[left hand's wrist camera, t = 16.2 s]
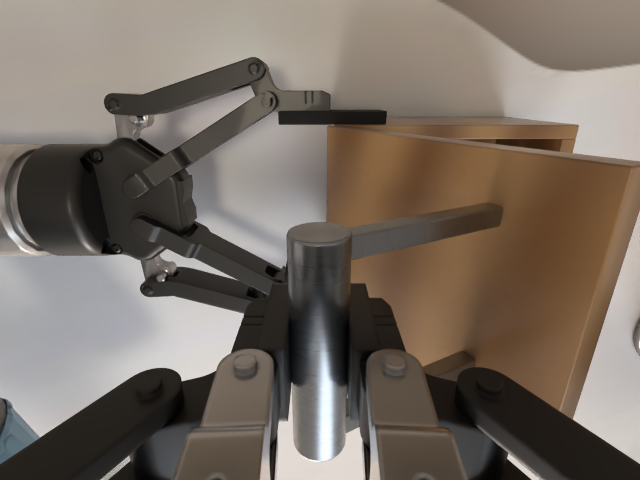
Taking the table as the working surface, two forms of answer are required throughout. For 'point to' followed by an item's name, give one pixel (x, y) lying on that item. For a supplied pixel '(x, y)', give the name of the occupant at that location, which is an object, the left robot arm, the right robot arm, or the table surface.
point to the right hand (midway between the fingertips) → (378, 199)
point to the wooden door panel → (456, 265)
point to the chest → (486, 130)
